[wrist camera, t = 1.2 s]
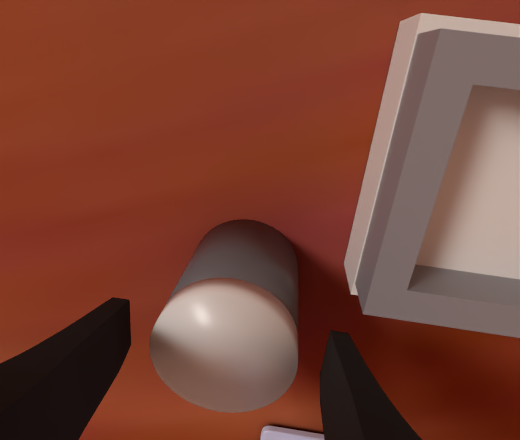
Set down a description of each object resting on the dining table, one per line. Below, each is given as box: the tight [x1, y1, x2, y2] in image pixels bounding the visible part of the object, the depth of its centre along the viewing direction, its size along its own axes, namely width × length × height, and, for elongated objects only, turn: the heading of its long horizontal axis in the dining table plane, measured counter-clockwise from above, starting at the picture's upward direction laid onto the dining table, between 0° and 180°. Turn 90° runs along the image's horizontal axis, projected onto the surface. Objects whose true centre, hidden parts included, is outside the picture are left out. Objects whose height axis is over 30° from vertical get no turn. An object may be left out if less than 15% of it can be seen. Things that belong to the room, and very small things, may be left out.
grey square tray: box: [344, 13, 520, 338], centre depth 13 cm, size 10×9×4 cm
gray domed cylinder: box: [149, 220, 298, 413], centre depth 15 cm, size 5×5×6 cm
